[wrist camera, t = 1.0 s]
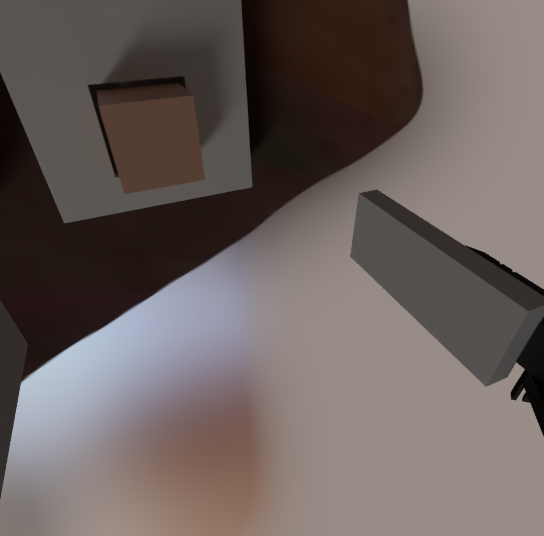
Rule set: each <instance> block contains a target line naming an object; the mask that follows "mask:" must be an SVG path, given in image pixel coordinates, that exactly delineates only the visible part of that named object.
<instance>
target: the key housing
mask: <svg viewBox="0 0 544 536" xmlns="http://www.w3.org/2000/svg"><path fill="white" fill-rule="evenodd" d="M0 73H1V75H2V77H3V80H4V82H5V84H6V87H7V89H8V91H9V94H10V96H11V99H12V101H13V103H14V106H15V108H16V110H17V113H18V115H19V117H20V120H21V122H22V124H23V127H24V129H25V132H26V134H27V136H28V139H29V141H30V143H31V146H32V148H33V150H34V153H35V155H36V157H37V160H38V162H39V165H40V167H41V169H42V172H43V174H44V176H45V179H46V181H47V183H48V186H49V188H50V190H51V193H52V195H53V197H54V200H55V202H56V205H57V207H58V209H59V212H60V214H61V216H62V219H63V221H64V223H68V222H73V221H78V220H84V219H89V218H94V217H99V216H104V215H110V214H115V213H120V212H125V211H130V210H136V209H141V208H146V207H151V206H156V205H162V204H167V203H172V202H177V201H182V200H188V199H193V198H198V197H203V196H208V195H213V194H219V193H224V192H229V191H234V190H239V189H245V188H250V187H252V175H251V158H250V142H249V125H248V108H247V91H246V75H245V58H244V41H243V24H242V8H241V0H0ZM169 83H180V84H181V85H182V86H183V87H184V88H185V89H186V90H188V91H189V92H190V93H191V94H192V95H193V97H194V104H195V111H196V118H197V125H198V132H199V139H200V146H201V153H202V160H203V167H204V174H205V180H201V181H196V182H190V183H185V184H179V185H173V186H168V187H162V188H157V189H151V190H145V191H140V192H134V193H129V194H124V191H123V188H122V185H121V181H120V178H119V174H118V171H117V168H116V164H115V161H114V157H113V154H112V151H111V147H110V144H109V140H108V137H107V133H106V130H105V127H104V123H103V120H102V116H101V113H100V110H99V106H98V98H97V90H106V89H116V88H127V87H137V86H148V85H158V84H169Z"/></svg>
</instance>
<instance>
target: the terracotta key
mask: <svg viewBox="0 0 544 536" xmlns="http://www.w3.org/2000/svg"><path fill="white" fill-rule="evenodd" d="M97 98H98V106H99V110H100V113H101V116H102V120H103V123H104V127H105V130H106V133H107V137H108V140H109V144H110V147H111V151H112V154H113V157H114V161H115V164H116V168H117V171H118V174H119V178H120V181H121V185H122V188H123V191H124V194H129V193H134V192H140V191H145V190H151V189H157V188H162V187H168V186H173V185H179V184H185V183H190V182H196V181H201V180H205V174H204V167H203V160H202V153H201V146H200V139H199V132H198V125H197V118H196V111H195V104H194V97H193V95H192V94H191V93H190V92H189V91H188V90H186V89H185V88H184V87H183V86H182V85H181V84H180V83H169V84H158V85H148V86H137V87H127V88H116V89H106V90H97Z"/></svg>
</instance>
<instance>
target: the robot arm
mask: <svg viewBox="0 0 544 536" xmlns="http://www.w3.org/2000/svg"><path fill="white" fill-rule="evenodd" d="M350 256H351V258H352V259H353V260H355V261H356V262H357V263H358V264H359V265H360V266H361V267H362V268H363V269H364V270H365V271H366V272H367V273H368V274H369V275H370V276H371V277H372V278H373V279H374V280H375V281H377V283H379V284H380V285H381V286H382V287H383V288H384V289H385V290H386V291H387V292H388V293H389V294H390V295H391V296H392V297H393V298H394V299H395V300H396V301H397V302H398V303H399V304H400V305H401V306H403V307H404V308H405V309H406V310H407V311H408V312H409V313H410V314H411V315H412V316H413V317H414V318H415V319H416V320H417V321H418V322H419V323H420V324H421V325H422V326H423V327H424V328H425V329H427V331H429V332H430V333H431V334H432V335H433V336H434V337H435V338H436V339H437V340H438V341H439V342H440V343H441V344H442V345H443V346H444V347H445V348H446V349H447V350H448V351H449V352H450V353H451V354H453V355H454V356H455V357H456V358H457V359H458V360H459V361H460V362H461V363H462V364H463V365H464V366H465V367H466V368H467V369H468V370H469V371H470V372H471V373H472V374H474V376H476V377H477V378H478V379H479V380H480V381H481V382H482V383H483V384H484V385H485V386H489V385H491V384H493V383H495V382H498V381H500V380H502V379H504V378H506V377H508V375H509V373H510V372H511V370H512V368H513V367H514V365H515V363H516V362H517V363H518V364H519V365H521V366H522V367H523V368H524V369H525V370H524V372H523V373H522V375H521V377H520V378H519V380H518V381H517V383H516V384H515V386H514V388H513V389H512V391H511V399H512V400H516V399H517V398H518V396H519V395H520V393H521V392H522V390H523V389H524V388H525V390H526V393H525V394H524V396H523V399H522V401H524V402H530V403H531V405H532V408H533V411H534V413H535V416H536V418H537V421H538V423H539V426H540V428H541V431H542V433H543V436H544V289H542V288H540V287H539V286H537V285H536V284H534V283H533V282H531V281H529V280H528V279H526V278H524V277H523V276H521V275H520V274H518V273H516V272H512V269H510V268H508V267H507V266H505V265H504V264H500V262H499V261H497V260H496V259H494V258H492V257H490V256H489V255H488V254H486V253H484V252H482V251H479V250H476V249H474V248H471V247H468V246H464V245H463V244H461V243H460V242H458V241H456V240H455V239H453V238H452V237H450V236H448V235H447V234H445V233H444V232H442V231H440V230H439V229H438V228H436V227H434V226H433V225H431V224H430V223H428V222H427V221H425V220H423V219H422V218H420V217H419V216H417V215H416V214H414V213H413V212H411V211H409V210H408V209H406V208H405V207H403V206H402V205H400V204H398V203H397V202H395V201H394V200H392V199H391V198H389V197H388V196H386V195H384V194H383V193H381V192H380V191H378V190H373V191H368V192H363V193H359V196H358V204H357V212H356V218H355V226H354V234H353V241H352V248H351V255H350ZM27 346H28V344H27V342H26V341H25V339H24V337H23V336H22V334H21V333H20V331H19V330H18V328H17V326H16V325H15V323H14V322H13V320H12V318H11V317H10V315H9V314H8V312H7V311H6V309H5V307H4V306H3V304H2V303H1V301H0V497H1V491H2V486H3V480H4V475H5V469H6V463H7V457H8V452H9V446H10V441H11V435H12V430H13V424H14V419H15V413H16V407H17V402H18V396H19V390H20V385H21V379H22V374H23V368H24V362H25V357H26V351H27Z"/></svg>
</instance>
